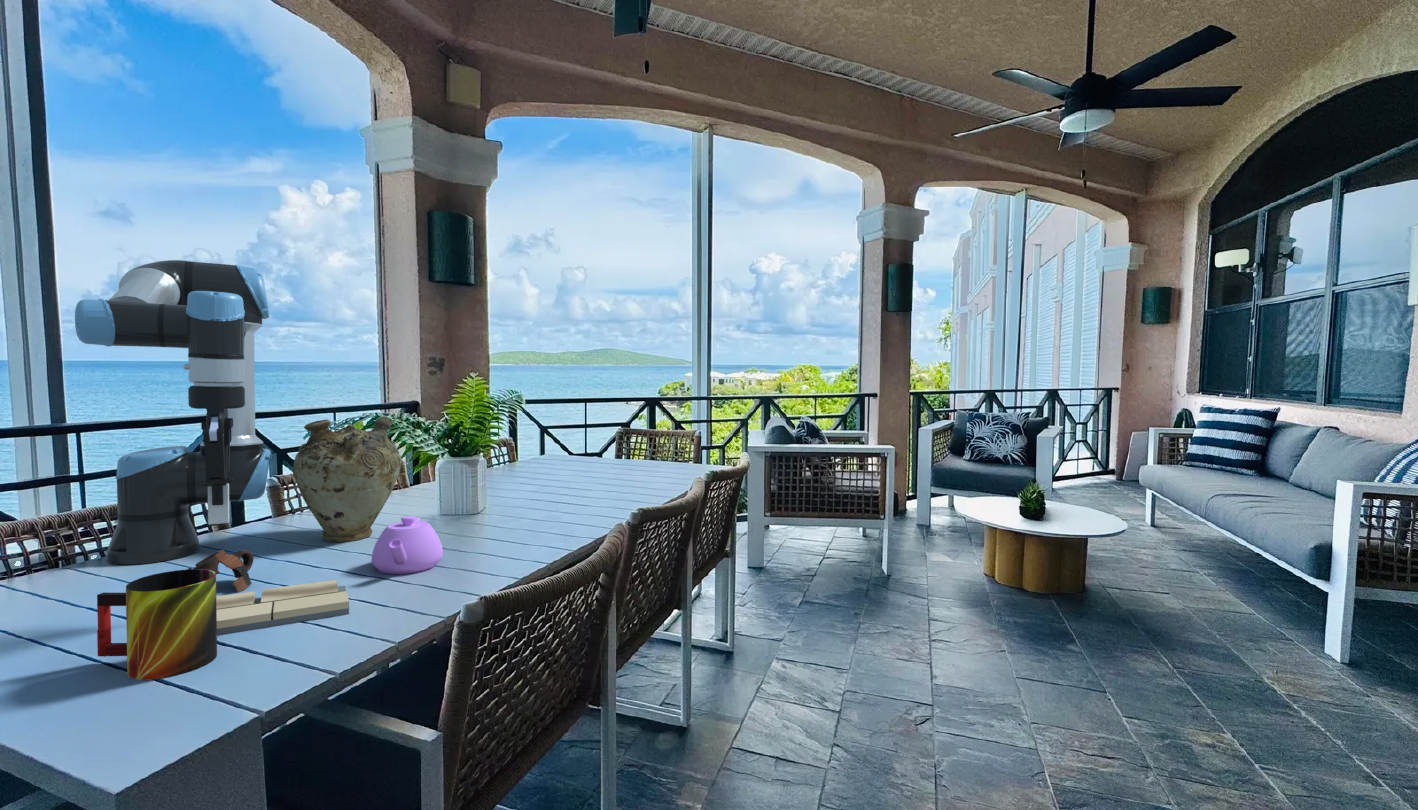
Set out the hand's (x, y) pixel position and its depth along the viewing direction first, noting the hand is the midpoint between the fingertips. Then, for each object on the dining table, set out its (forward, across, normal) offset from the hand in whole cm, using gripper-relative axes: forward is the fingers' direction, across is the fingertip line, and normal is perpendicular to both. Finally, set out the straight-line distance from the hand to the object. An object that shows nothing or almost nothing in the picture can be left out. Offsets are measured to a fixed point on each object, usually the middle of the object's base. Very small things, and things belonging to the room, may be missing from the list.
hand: (218, 522), depth 107 cm
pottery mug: (+16, -13, -1) cm, 21 cm away
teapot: (+16, -11, +30) cm, 36 cm away
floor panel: (+15, +6, +6) cm, 17 cm away
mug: (+15, +21, -5) cm, 26 cm away
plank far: (+14, +3, +12) cm, 18 cm away
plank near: (+14, +3, -1) cm, 14 cm away
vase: (+16, -43, +21) cm, 51 cm away
